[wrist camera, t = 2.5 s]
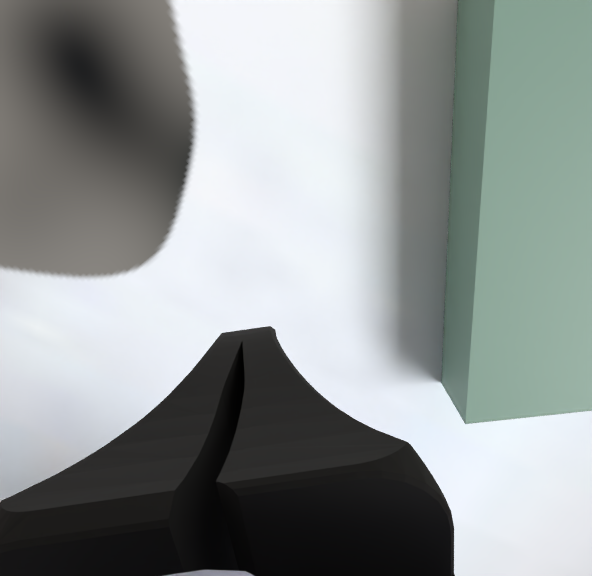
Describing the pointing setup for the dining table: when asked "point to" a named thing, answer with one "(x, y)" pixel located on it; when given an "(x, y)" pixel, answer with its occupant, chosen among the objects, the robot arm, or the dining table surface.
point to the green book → (520, 211)
